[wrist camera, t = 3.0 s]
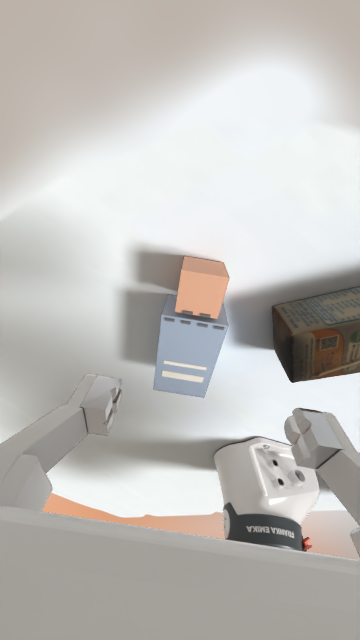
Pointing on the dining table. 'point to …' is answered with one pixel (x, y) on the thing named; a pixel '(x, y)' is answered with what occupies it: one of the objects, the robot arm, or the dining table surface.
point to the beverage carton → (319, 335)
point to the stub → (201, 287)
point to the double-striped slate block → (187, 350)
